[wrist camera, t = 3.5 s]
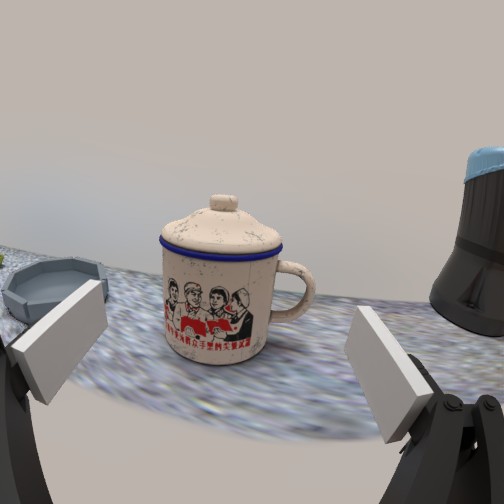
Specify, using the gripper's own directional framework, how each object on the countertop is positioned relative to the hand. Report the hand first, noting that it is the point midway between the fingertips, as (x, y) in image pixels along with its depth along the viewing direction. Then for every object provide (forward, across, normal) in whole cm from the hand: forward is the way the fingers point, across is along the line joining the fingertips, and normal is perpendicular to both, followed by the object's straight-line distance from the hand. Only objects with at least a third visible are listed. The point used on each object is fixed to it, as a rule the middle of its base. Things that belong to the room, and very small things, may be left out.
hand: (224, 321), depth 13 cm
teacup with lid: (+8, 0, -7) cm, 10 cm away
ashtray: (+10, -20, -6) cm, 23 cm away
